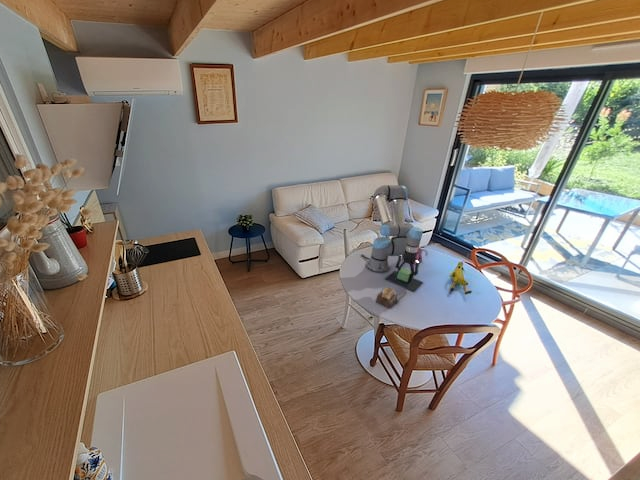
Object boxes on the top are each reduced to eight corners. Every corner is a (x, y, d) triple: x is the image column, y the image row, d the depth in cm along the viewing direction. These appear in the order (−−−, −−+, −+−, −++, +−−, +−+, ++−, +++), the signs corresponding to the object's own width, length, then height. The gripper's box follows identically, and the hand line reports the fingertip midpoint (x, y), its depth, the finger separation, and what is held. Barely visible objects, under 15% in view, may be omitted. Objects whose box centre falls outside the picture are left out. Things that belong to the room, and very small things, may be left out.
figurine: (464, 282, 177) (462, 256, 199) (446, 288, 184) (446, 262, 206) (474, 295, 179) (471, 267, 200) (456, 300, 186) (455, 273, 208)
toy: (398, 251, 234) (406, 217, 219) (427, 264, 215) (438, 228, 200) (391, 254, 230) (399, 219, 215) (421, 268, 211) (431, 231, 196)
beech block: (381, 296, 176) (382, 290, 173) (385, 292, 179) (386, 287, 176) (389, 300, 173) (390, 294, 170) (393, 296, 176) (394, 290, 173)
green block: (397, 278, 195) (398, 270, 192) (401, 274, 200) (403, 266, 197) (407, 282, 191) (408, 274, 188) (411, 278, 195) (413, 270, 192)
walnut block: (376, 301, 178) (377, 296, 176) (383, 295, 183) (384, 290, 181) (389, 308, 172) (390, 302, 170) (396, 301, 178) (397, 296, 176)
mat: (385, 279, 198) (385, 278, 198) (394, 271, 207) (394, 270, 207) (413, 291, 186) (413, 290, 186) (422, 282, 195) (422, 282, 194)
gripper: (394, 247, 188) (387, 276, 200) (424, 258, 176) (415, 288, 188) (399, 243, 193) (392, 271, 204) (429, 254, 181) (420, 283, 192)
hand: (403, 279), depth 196 cm, fingers closed on green block, 7 cm apart
